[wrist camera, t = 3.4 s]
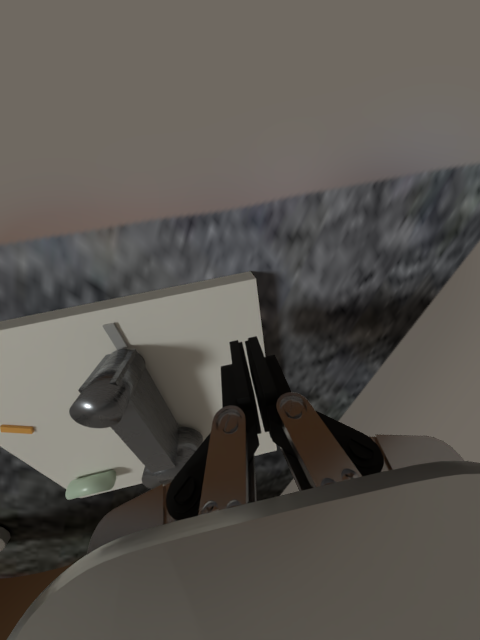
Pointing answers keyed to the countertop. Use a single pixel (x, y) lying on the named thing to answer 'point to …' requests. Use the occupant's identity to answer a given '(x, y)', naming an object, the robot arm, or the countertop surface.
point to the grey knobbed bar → (135, 415)
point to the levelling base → (102, 339)
